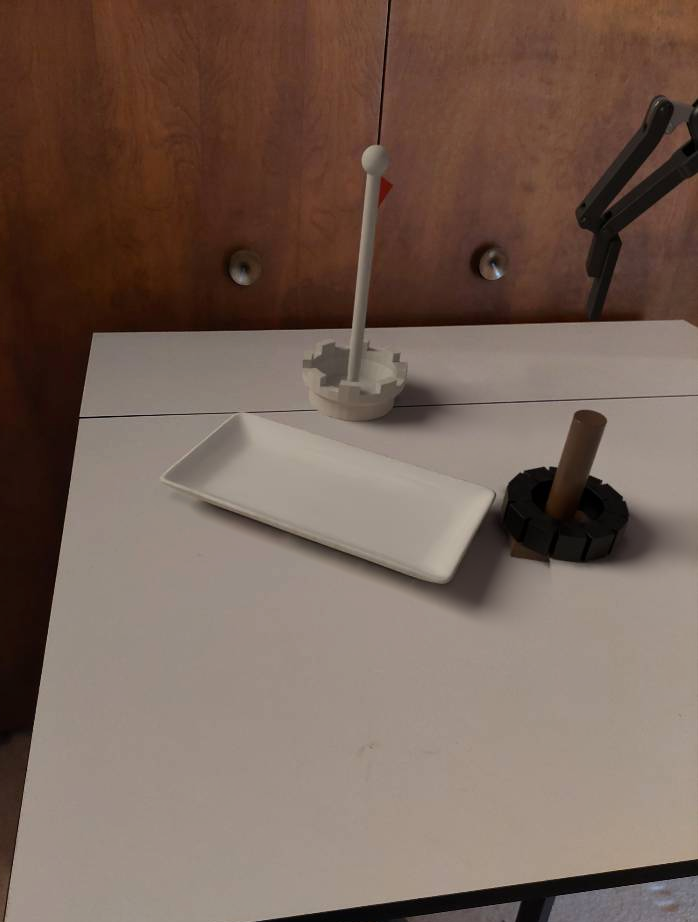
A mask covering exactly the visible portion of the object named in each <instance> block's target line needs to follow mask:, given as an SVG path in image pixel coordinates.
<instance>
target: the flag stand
mask: <svg viewBox="0 0 698 922" xmlns="http://www.w3.org/2000/svg"><path fill="white" fill-rule="evenodd" d="M389 165H390V154H389V152H388V150H387V149H386V148H385V147H383V146H382V145H381V144H373V145H370V146H368V147H367V148H366V149H365V150H364V152H363V153H362V156H361V166H362V169H363V170H364V172H366V181H365V182H366V183H365V192H364V202H363V213H362V222H361V223H362V224H361V231H360V232H361V233H360V242H359V253H358V265H357V275H356V282H355V283H356V285H355V293H354V303H353V304H354V305H353V315H352V324H351V325H352V327H351V334H350V335H351V337H350V340H349V345H336V341H335V340H334V339H333V338H328V339H323V340H321V341H318V342H316V343H315V351H311V350H307V349H306V350H305V351H304V353H303V354H302V355H303V356H302V366H301V368H302V369H301V378H302V382H303V383H304V384H305V386H306V387H307V388H308V401H309V403H310V404H311V406H312V407H313V408H314V409H315V410H316V411H318V412H319V413H321V414H323V415H325V416H328V417H330V418H334V419H337V420H342V421H347V422H349V421H350V422H365V421H372V420H375V419H379V418H382V417H384V416H386V415H387V414H388V413H390V412H391V411H392V409H393V408H394V405H395V401H396V396H398V395H399V394H400V393H402V391H403V390H404V389H405V386H406V382H407V376H408V368H409V365H408V364H409V363H408V361H401V354H402V353H401V352H400V351H399V350H398V349H396V348H395V347H393V346H391V345H389V344H386V345H384V346H382V348H381V350H379V349H376V348H373V347H370V342H371V339H369V338H364V337H365V330H366V329H365V328H366V321H367V320H366V319H367V311H368V302H369V294H370V293H369V291H370V282H371V273H372V266H373V265H372V264H373V256H374V246H375V245H374V244H375V236H376V227H377V220H378V219H377V218H378V210H379V208H380V206H381V205H382V203H383V202H384V200H385V199H386V197H387V196H388V195H389V193H390V192H391V190H392V188H394V184H393V183H391V182H390V181H389V180H388V179H386V178H385V177H384V176H382V174H384V173H385V172H386V171H387V170H388V168H389Z"/></svg>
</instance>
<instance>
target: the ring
mask: <svg viewBox="0 0 698 922" xmlns="http://www.w3.org/2000/svg"><path fill="white" fill-rule="evenodd" d="M557 468H558V466H551V465H550V466H549V467H548V468H547V467H546V466H540V467H534V468H528V469H524V470H523V472H518V473H517V474H516V475H515V476H514V477H513V478H512V479H510V481H508V483H507V485H506V488H505V492H504V496H503V499H502V503H501V507H500V513H501V514H500V515H501V524H503V528H504V529H505V530H506V531H507V532H508V534H509V533H510V535H511V536H512V537H513V538H514V539H515V540H516V541H517V542H522V541H523V543H522V546H524V547H526V548H528V549H530V550H532V551H534V552H536V553H538V554H540V555H543V556H545V557H546V556H547V555H548V554H549V555H550V556H551V559H552V560H557V561H564V562H565V561H566V562H571V563H580V560H581V561H582V562H583V563H587V562H591V561H595V560H599V559H604V558H607V556H611V555H612V553H613V552H614V551H615V549H616V548H617V547H618V546H619V545H620V543H621V542H622V538H623V536H624V533H625V531H626V529H627V526H628V524H629V521H630V512H629V508H628V504H627V501H626V500H624V496H623V495H621V494H620V493H619V492H618V491H617V490H616V489H614V487H613V486H612V485H610V484H609V483H603V482H604V481H603V480H602V479H600V478H598V477H596V476H593V475H591V474H589V477H588V480H587V483H586V486H585V489H584V492H583V494H582V497H581V500H580V503H579V506H578V509H577V510H580V511H582V512H583V513H584V514H585V515H586V516H587V517H588V518H589V519H590V520H591V521H589V522H584V523H575V522H568V521H561V520H559V519H556V518H554V517H552V516H550V515H548V514H545V513H543V512H542V511H541V510H540V509H539V508H538V507H537V506H536V504H541V503H546V502H547V500H548V497H549V494H550V491H551V487H552V484H553V481H554V478H555V474H556V471H557Z"/></svg>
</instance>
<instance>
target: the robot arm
mask: <svg viewBox="0 0 698 922" xmlns="http://www.w3.org/2000/svg"><path fill="white" fill-rule="evenodd" d="M684 123H685V124H686V128H687V131H688V133H689V136H690V138H689V140H687V141H685V143H683V144H682V145H681V146H679V148H677V149H676V150H675V151H674V152H673V153H672V154H671V156H670V158H668V159H667V160H666V161H665V162H664V163H662V164H661V165H660V166H659V167H657V169H655V170H654V171H653V172H652V173H651V174H649V175H648V176H646V178H644V179H643V180H641V182H640V183H638V184H636V186H635V187H633V188H632V189H631V190H630V191H628V192H627V193H626V194H625V195H624V196H622V197H621V198H620V199H619V200H618V201H616V202H615V203H614V204H613V205H611V204H612V203H613V201H614V200H615V199H616V198H617V197H618V195H619V194H620V193H621V191H622V190H623V189H624V188H625V187H626V185H627V184H628V183H629V182H630V180H631V179H632V178H633V176H635V174H636V173H637V172H638V171H639V170H640V168H641V167H642V166H643V164H644V163H645V162H646V161H647V160H648V158H649V157H650V156H651V155H652V153H653V152H654V151H655V150H656V148H657V147H658V145H659V144H660V143H661V142H662V139H663V138H664V136H669V135H671V134H672V133H674V131H675V130H676V129H677V128H678V126H679V125H681V124H684ZM697 174H698V97H696V99H695V100H694V102H693V103H692V104H688V103H685V102H680V101H674V100H670V99H669V98H668V97H667V96H666V95H664V94H657V95H655V96H654V97H653V98H652V99H651V100H650V102H649V105H648V108H647V110H646V113H645V115H644V118H643V120H642V123H641V125H640V127H639V128H638V130H637V131H636V132H635V134H634V135H633V136H632V137H631V138H630V139H629V141H628V142H627V144H626V145H625V146H623V148H622V150H621V151H620V152H619V153H618V155H617V156H616V157H615V159H614V160H613V161H612V163H611V164H610V165H609V166H608V168H607V169H606V170H605V171H604V173H602V175H601V177H600V178H599V179H598V180H597V182H596V183H595V184H594V185H593V187H591V189H590V191H589V192H588V193H587V194H586V196H585V197H584V198H583V200H582V201H581V202H580V203H579V204H578V206H577V207H576V209H575V211H574V215H575V217H576V221H577V224H578V226H579V228H580V229H582V230H587V231H589V232H591V233H592V234H593V235H592V238H591V243H590V247H589V250H588V253H587V257H586V261H585V265H584V266H585V272H586V274H587V277H588V278H593V281H592V284H591V288H590V292H589V296H588V299H587V302H586V306H585V309H586V313H587V316H588V319H589V321H592V322H599V321H600V318H601V316H602V312H603V309H604V305H605V302H606V299H607V295H608V292H609V289H610V285H611V282H612V279H613V276H614V272H615V269H616V266H617V263H618V259H619V256H620V254H621V253H620V252H621V249H622V246H623V241H622V239H621V236H620V235H619V233H620V232H621V231H623V230H624V229H626V227H628V226H629V225H630V224H632V223H633V222H634V221H635V220H636V219H638V218H639V217H640V216H641V215H643V214H644V213H645V212H646V211H648V210H649V209H650V208H652V206H654V205H655V204H656V203H658V202H659V201H660V200H662V199H663V198H664V197H665V196H667V195H668V194H669V193H670V192H671V191H673V190H674V189H675V188H677V187H678V186H679V185H680V184H682V183H683V182H684V181H686V180H688V179H691V178H693V177H695V176H696V175H697ZM610 205H611V206H610ZM609 206H610V207H609ZM608 207H609V208H608ZM607 208H608V209H607Z"/></svg>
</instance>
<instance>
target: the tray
mask: <svg viewBox="0 0 698 922" xmlns="http://www.w3.org/2000/svg"><path fill="white" fill-rule="evenodd" d="M159 482H160V483H161V484H163V485H165V486H167V487H170V488H172V489H174V490H176V491H178V492H180V493H182V494H185V495H188V496H190V497H192V498H194V499H198V500H201V501H204V502H205V503H209V504H211V505H213V506H216V507H219V508H222V509H225V510H226V511H230V512H233V513H236V514H238V515H242V516H245V517H247V518H249V519H252V520H254V521H255V520H256V521H258V522H260V523H262V524H266V525H269V526H272V527H274V528H277V529H280V530H282V531H284V532H287V533H290V534H293V535H296V536H299V537H302V538H305V539H307V540H310V541H313V542H316V543H319V544H321V545H324V546H326V547H329V548H332V549H336V550H338V551H341V552H344V553H346V554H348V555H352V556H355V557H357V558H360V559H363V560H366V561H368V562H372V563H375V564H377V565H380V566H382V567H385V568H388V569H390V570H394V571H397V572H398V573H400V574H401V573H402V574H404V575H407V576H411V577H413V578H415V579H419V580H422V581H426V582H428V583H429V582H430V583H435V584H439V585H440V584H442V585H443V584H447V583H449V582H450V581H451V580H452V579H453V577H454V576H455V574H456V572H457V571H458V569H459V567H460V564H461V562H462V561H463V558H464V556H465V554H466V553H467V550H468V549H469V547H470V545H471V543H472V541H473V539H474V538H475V536H476V534H477V533H478V530H479V528H480V527H481V525H482V523H483V522H484V519H485V518H486V516H487V514H488V513H489V511H490V509H491V508H492V506H493V504H494V502H495V500H496V498H497V492H496V490H494V489H492V488H490V487H487V486H485V485H481V484H478V483H475V482H472V481H468V480H465V479H463V478H458V477H455V476H453V475H452V476H451V475H448V474H445V473H442V472H439V471H435V470H432V469H429V468H426V467H422V466H419V465H417V464H414V463H409V462H406V461H404V460H400V459H397V458H393V457H390V456H387V455H384V454H380V453H378V452H374V451H371V450H368V449H365V448H362V447H358V446H355V445H352V444H349V443H346V442H343V441H339V440H336V439H333V438H330V437H327V436H324V435H320V434H317V433H314V432H311V431H308V430H305V429H302V428H298V427H295V426H292V425H289V424H286V423H282V422H280V421H276V420H273V419H270V418H266V417H263V416H260V415H257V414H254V413H249V412H244V411H241V412H237V413H234V414H232V415H231V416H230V417H229V418H227V419H226V420H225V421H224V422H223V423H221V424H220V425H219V426H218V427H217V428H216V429H215V430H214V431H212V432H211V433H210V434H208V436H206V437H205V438H204V439H203V440H202V441H200V442H199V443H198V444H197V445H195V446H194V447H193V448H192V449H191V450H189V452H187V453H186V454H185V455H183V456H182V457H181V458H180V459H179V460H178V461H176V462H175V463H174V464H173V465H172V466H170V467H169V468H168V469H167V470H166V471H164V473H162V474H161V475H160V477H159Z"/></svg>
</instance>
